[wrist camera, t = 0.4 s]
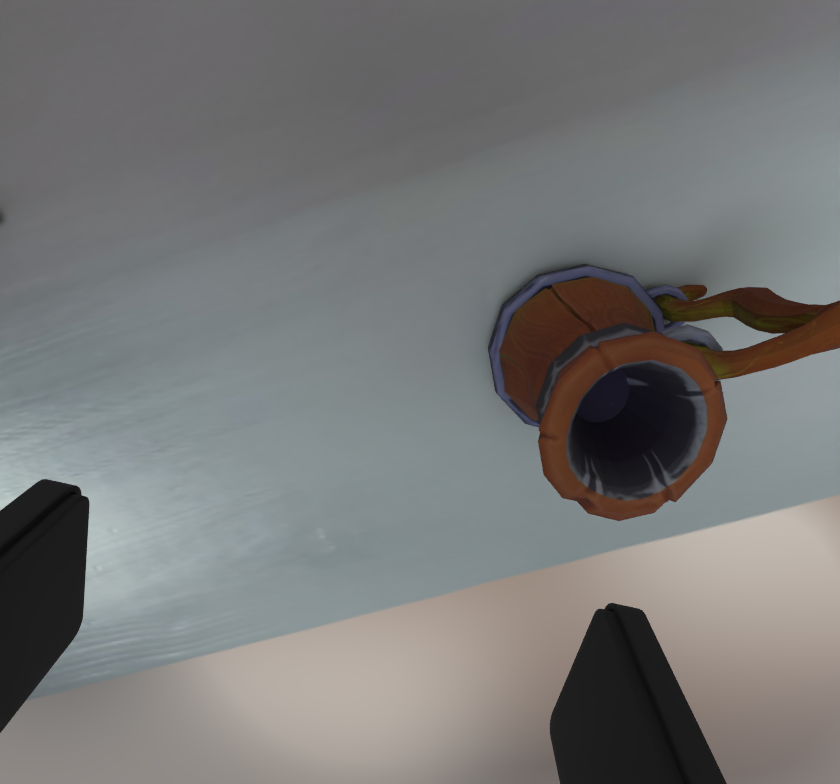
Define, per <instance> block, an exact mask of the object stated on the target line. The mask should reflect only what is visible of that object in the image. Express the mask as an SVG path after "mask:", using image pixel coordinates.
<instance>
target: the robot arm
mask: <svg viewBox="0 0 840 784" xmlns="http://www.w3.org/2000/svg"><path fill="white" fill-rule="evenodd" d="M88 519H89V500H88V498H87V497H85V496H81V490H80V488H79V487H78V486H75V485H70V484H66V483H61V482H56V481H52V480H47V479H43V480H40V481H39V482H37V483H36V484H34V485H33V486H32V487H31V488H29V489H28V490H27V491H25V492H24V493H23V494H21V495H20V496H19V497H18V498H16V499H15V500H14V501H12V502H11V503H10V504H9V505H7V506H6V507H5V508H3V509H2V510H1V511H0V732H1V731H2V730H3V729H4V728H5V726H6V725H7V724H8V722H9V721H10V720H11V718H12V717H13V716H14V715H15V713H16V712H17V711H18V710H19V708H20V707H21V706H22V704H23V703H24V702H25V701H26V699H27V698H28V697H29V695H30V694H31V693H32V692H33V690H34V689H35V688H36V686H37V685H38V684H39V683H40V681H41V680H42V679H43V678H44V676H45V675H46V674H47V672H48V671H49V670H50V669H51V667H52V666H53V665H54V663H55V662H56V661H57V660H58V658H59V657H60V656H61V654H62V653H63V652H64V651H65V649H66V648H67V647H68V645H69V644H70V643H71V642H72V640H73V639H74V637H75V636H76V634H77V632H78V630H79V628H80V626H81V622H82V618H83V607H84V589H85V571H86V554H87V536H88ZM550 735H551V741H552V745H553V750H554V755H555V760H556V765H557V770H558V775H559V780H560V784H726V782H725V779H724V777H723V775H722V773H721V771H720V769H719V767H718V765H717V763H716V761H715V759H714V756H713V754H712V752H711V750H710V748H709V746H708V744H707V742H706V740H705V738H704V736H703V734H702V731H701V729H700V727H699V725H698V723H697V721H696V719H695V717H694V715H693V713H692V711H691V709H690V706H689V705H688V703H687V701H686V699H685V696H684V694H683V692H682V690H681V688H680V686H679V684H678V682H677V680H676V678H675V676H674V674H673V671H672V669H671V667H670V665H669V664H668V661H667V659H666V657H665V655H664V653H663V651H662V649H661V646H660V644H659V642H658V640H657V638H656V636H655V634H654V632H653V630H652V628H651V626H650V623H649V621H648V619H647V617H646V615H645V614H644V612H643V611H642V610H640V609H637V608H633V607H628V606H623V605H619V604H614V603H610V604H608V605H607V606H606V608H605V609H598V610H597V611H596V612H595V614H594V616H593V618H592V621H591V623H590V625H589V628H588V630H587V632H586V635H585V637H584V639H583V642H582V644H581V646H580V649H579V651H578V653H577V656H576V658H575V660H574V663H573V665H572V668H571V670H570V673H569V675H568V677H567V679H566V682H565V684H564V686H563V689H562V691H561V693H560V696H559V698H558V701H557V703H556V705H555V707H554V710H553V712H552V716H551V720H550Z"/></svg>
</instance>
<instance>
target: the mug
mask: <svg viewBox="0 0 840 784" xmlns="http://www.w3.org/2000/svg"><path fill="white" fill-rule="evenodd" d="M706 292H707V288H706V287H705V286H704V285H686V286H683V287H680V288H675V287H672V286H669V285H664V286H659V287H654V288H651V289H648V290H646V291H645V290H644V288H643V287H642V286H641V285H640V284H639V283H638V282H637V280H636V279H635V278H634V277H633V276H631V275H628V274H624V273H620V272H615V271H611V270H607V269H603V268H598V267H594V266H590V265H586V264H583V265H579V266H575V267H570V268H566V269H562V270H558V271H553V272H549V273H545V274H540V275H537V276H536V277H535V278H534V279H533V280H531V281H530V282H529V283H528V284H527V285H526V286H524V287H523V288H522V289H521V290H520V291H519V292H517V293H516V294H515V295H514V296H513V297H511V298H510V299H509V300H508V301H507V302H505V303H504V304H503V305H502V307H501V310H500V313H499V316H498V319H497V322H496V325H495V328H494V331H493V335H492V338H491V341H490V344H489V347H488V351H489V357H490V362H491V368H492V374H493V380H494V386H495V391H496V393H497V394H498V395H499V396H500V398H501V399H502V400H503V401H504V402H505V403H506V404H507V405H508V406H509V407H510V408H511V409H512V410H513V411H514V412H515V413H516V414H517V415H518V417H519V418H520V419H521V420H522V421H523V422H524V423H525V424H529V425H533V426H536V427H539V431H540V436H539V440H538V443H539V449H540V455H541V461H542V467H543V473H544V476H545V477H546V478H547V479H548V481H549V482H550V483H551V484H552V485H553V487H554V488H555V489H556V490H557V492H558V493H559V494H560V495H561V497H562V498H564V499H569V500H574V501H577V502H578V503H579V504H580V505H581V506H582V507H583V508H584V509H585V510H586V512H587V513H588V514H593V515H597V516H601V517H605V518H609V519H613V520H617V521H621V520H625V519H629V518H634V517H638V516H642V515H646V514H651V513H654V512H655V511H657V510H658V509H659V508H660V507H661V506H662V505H663V504H664V503H665V502H667V501H668V500H671V501H674V502H676V501H677V500H678V499H679V498H680V497H681V496H682V495H683V494H684V493H685V492H686V490H687V489H688V488H689V487H690V486H691V485H692V484H693V483H694V482H695V481H696V480H697V479H698V478H699V477H700V476H701V474H702V473H703V472H704V471H705V470H706V469H707V468H708V467H709V466H710V465H711V464H712V462H713V459H714V456H715V453H716V450H717V448H718V445H719V442H720V439H721V436H722V433H723V430H724V427H725V424H726V421H727V414H726V409H725V403H724V398H723V392H722V387H721V382H720V381H719V380H720V379H727V378H733V377H739V376H742V375H746V374H750V373H754V372H758V371H762V370H766V369H770V368H774V367H777V366H780V365H783V364H786V363H789V362H792V361H795V360H798V359H801V358H803V357H806V356H809V355H812V354H816V353H820V352H825V351H829V350H833V349H837V348H840V301H837V302H834V303H831V304H828V305H815V304H814V305H808V304H802V303H797V302H793V301H789V300H786V299H784V298H782V297H780V296H778V295H776V294H775V293H774V292H772V291H771V290H769V289H768V288H756V287H746V288H738V289H734V290H730V291H726V292H723V293H720V294H717V295H714V296H711V297H708V298H705V299H701V300H697V301H694V300H696V299H698V298H700V297H703V296H704V295H705V294H706ZM657 296H658V297H657ZM655 297H657V298H656V299H655V301H654V300H653V298H655ZM717 317H734V318H736V319H738V320H739V321H741V322H742V323H744V324H745V325H747V326H749V327H751V328H753V329H756V330H758V331H763V332H768V333H772V334H774V333H785V334H782V335H780V336H778V337H775V338H772V339H769V340H767V341H764V342H761V343H759V344H756V345H753V346H751V347H748V348H744V349H740V350H735V351H723V349H722V347H721V346H720V345H719V344H718V342H717V341H716V340H715V339H714V337H713V336H712V335H711V334H710V333H709V332H708V331H706V330H703V329H700V328H696V327H693V326H690V325H684V326H681V325H682V324H683V323H684V322H686V321H699V320H705V319H710V318H717ZM664 319H667V320H669V321H671V322H670V323H669V324H666V325H664ZM679 326H680V327H679Z"/></svg>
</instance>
